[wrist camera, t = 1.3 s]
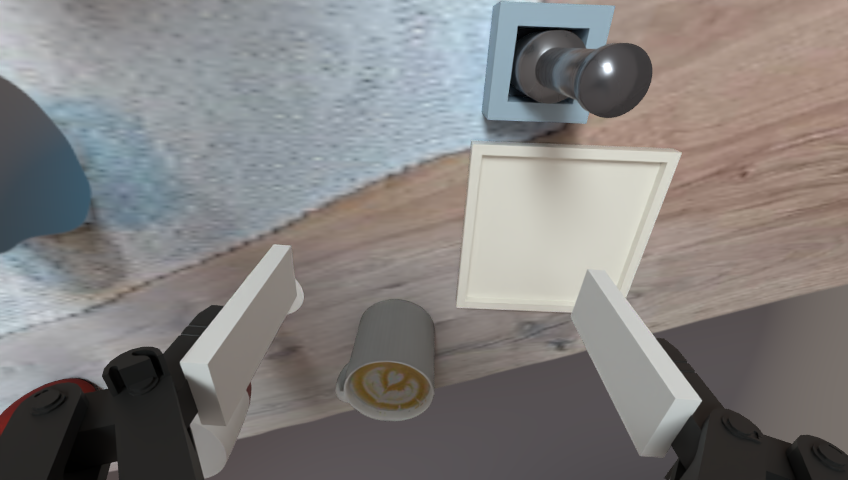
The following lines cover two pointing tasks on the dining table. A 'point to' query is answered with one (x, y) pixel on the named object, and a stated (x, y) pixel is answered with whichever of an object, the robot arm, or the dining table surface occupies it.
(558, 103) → the ring
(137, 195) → the dining table surface
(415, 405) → the coffee mug
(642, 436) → the robot arm
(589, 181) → the tray
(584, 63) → the pestle
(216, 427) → the wineglass
